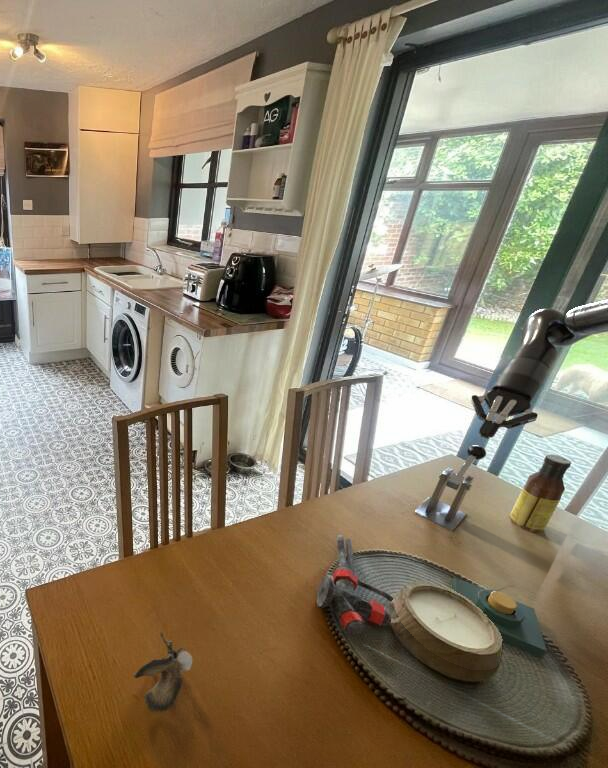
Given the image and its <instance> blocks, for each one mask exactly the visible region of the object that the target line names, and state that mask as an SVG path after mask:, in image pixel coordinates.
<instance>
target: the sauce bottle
mask: <svg viewBox="0 0 608 768" xmlns="http://www.w3.org/2000/svg"><path fill="white" fill-rule="evenodd" d="M571 465H572V461H571V460H569V459H568V458H566V457H564V456H561V455H557V454H546V455H545V456H544V458H543V463H542V465H541V467H540V468H539V469H538V471H537V472H534V473H532V474H530V475H529V476H528V477H527V480H526V482H525V484H524V485H523V487H522V489H521V491H520V493H519V495H518V497H517V500H516V502H515V503H514V506H513V508H512V510H511V512H510V514H509V520H510V521H511V523H513V524H514V525H515V526H517V527H519V528H521V529H523V530H525V531H527V532H531V533H538V534H539V533H542V532H544V530H545V529H546V527H547V526H548V524H549V522H550V520H551V518H552V517H553V514H554V512H555V511H556V508H557V507H558V505H559V503H560V501H561V499H562V496H563V493H564V492H565V491H566V488H565V484H564V483H565V482H564V477H565V474H566V472H567V470H568V469H569V468H570V467H571Z"/></svg>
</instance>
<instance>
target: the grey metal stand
mask: <svg viewBox="0 0 608 768" xmlns="http://www.w3.org/2000/svg"><path fill="white" fill-rule="evenodd" d="M453 471H454V468H451V467H447V469H445V470H444V471H442V472H441V473H440V474H439V476H438V478H439V479H438V482H437V484H436V486H435V488H434V490H433V493H432V495H431V496H428V498H426V499H425V500H424V501H423V502H422V503H421V504H420V505H419V506H418V507H417V508H416V509H415V510H414V511H413V512H414V513H415V514H417V515H419V516H421V517H423V518H425V519H426V520H429V521H431V522H433V523H435V524H437V525H439V526H441V527H443V528H445V529H447V530H448V531H451V532H453V531H454V530H455V529H456V528H457V527H458V526H459V524H460V523H461V522H462V521H463V520H464V519H465V518H466V516H467V515H468V513H466V512H463V511H461V510H459V509H460V507H461V505H462V503H463V502H464V499H465V497H466V495H467V493H468V491H470V490H471V489H472V487H473V485H472V482H473V481H474V479H475V477H473V476H471V475H468V476H467V477H465V478H464V480H463V482H462V484H461V486H460V487H459V488H458V490H457V493H456V495H455V497H454V499H453V501H452V503H451V505H448V504H447V503H444V502H442V501H441V498H442V495H443V493H444V491H445V489H446V487H447V486H446V484H447V481H448V479H449V478H450V476H451V475H452V474H453V473H454V472H453Z"/></svg>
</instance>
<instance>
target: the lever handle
mask: <svg viewBox="0 0 608 768" xmlns="http://www.w3.org/2000/svg"><path fill="white" fill-rule="evenodd" d="M466 455H467V456H468V457H467V459H466V460H465V462H464V463H463V465H462V466H461V467H460V469H459V470H458V472H457V473H455V472H452V474H451V476H450V478H449V479H448V481H447V484H446V487H448V488H449V489H452V490H455V491H458V490H459V488H460V486H461V484H462V482H463V481H464V480H465V474H466V473H467V471H469V469H470V467H471V466H472V465H473V463H474V462H475V461H478V460H482V459H484V458H485V457H486V456H487V450H486V449H485V448H484V447H483V446H481V445H477V444H474V445H473V444H472V445H470V446H469V447H468V448H467V449H466Z"/></svg>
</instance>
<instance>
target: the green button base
mask: <svg viewBox="0 0 608 768" xmlns="http://www.w3.org/2000/svg"><path fill="white" fill-rule="evenodd" d="M451 582H452V583H451V584H452V589H453V590H454V591H456V592H457V593H460V594H461V595H463V596H465V597H466V598H468V599H469V600H471V601H472V602H473V603H474V604H475V605H476V606H477V607H479V608H480V609H481V610H482V611H483V613H484V614H486V615H487V617H488V618H489V619H490V620H491V621H492V622H493V623H494V625H495V626H496V627H497V628H498V630H499V632H500V633H501V636H502V639H503V642H502V643H504V644H506V645H507V646H508V645H509V646H511V647H513V648H515V647H516V648H515V649H518V650H520V651H522V652H525V653H527V654H529V655H531V656H534V657H536V658H539V659H543V657H544V656H545V654H546V653H547V646H546V644H545V640H544V637H543V634H542V630H541V626H540V624H539V619H538V617H537V613H536V611H535V610H536V609H535V608H534V607H532V606H530V605H527V604H524V603H522V602H519V601H517V600H514V601H515V603H516V605H517V607H516V609H515V610H514V612H513V613H512V614H510V615H507V614H504V613H501V612H499V611H497V610H496V609H494V608H493V607H491V606H490V604H489V603H488V598H489V596H490V594H491V593H492V592H494V591H495V590H493V589H486V588H483V587H480V586H478V585H475V584H473V583H471V582H468V581H465V580H462V579H460V578H457V577H454V578H453V580H452V581H451Z"/></svg>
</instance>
